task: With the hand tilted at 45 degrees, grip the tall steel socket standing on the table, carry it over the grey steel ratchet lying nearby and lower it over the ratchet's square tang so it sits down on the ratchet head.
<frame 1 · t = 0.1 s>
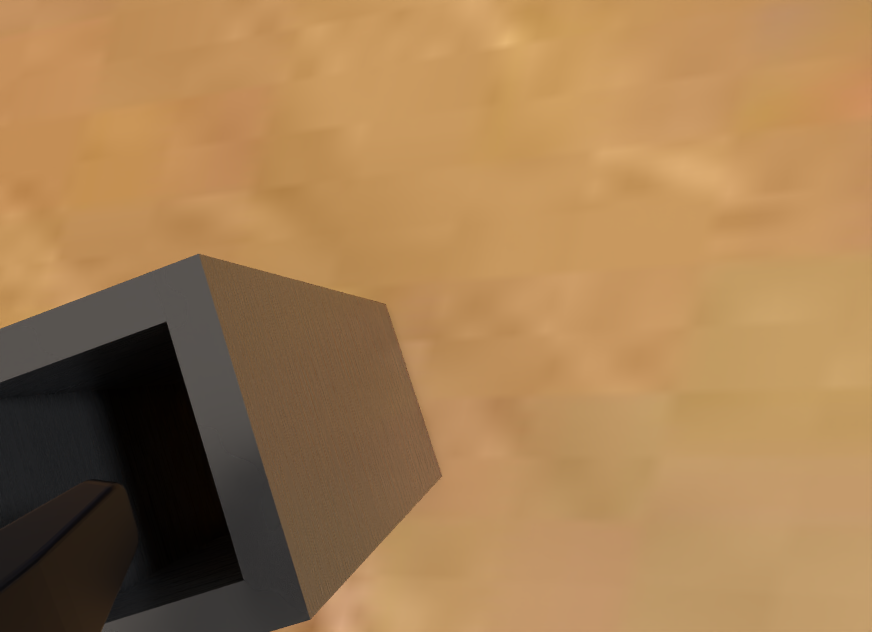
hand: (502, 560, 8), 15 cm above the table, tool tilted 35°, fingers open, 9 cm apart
socket: (330, 416, 24), on the table
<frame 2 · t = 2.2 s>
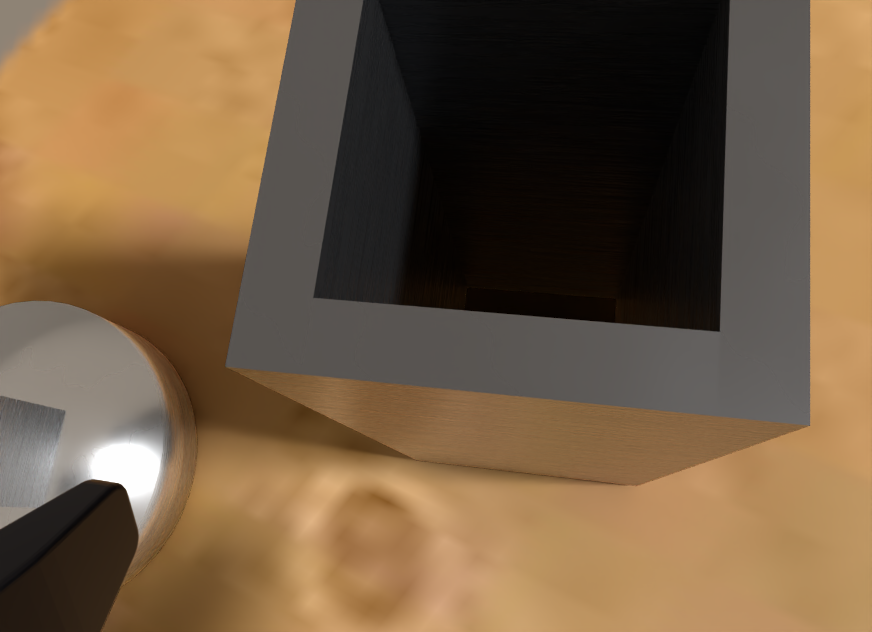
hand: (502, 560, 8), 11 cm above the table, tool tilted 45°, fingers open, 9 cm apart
socket: (534, 365, 20), on the table
ratchet: (59, 459, 21), on the table
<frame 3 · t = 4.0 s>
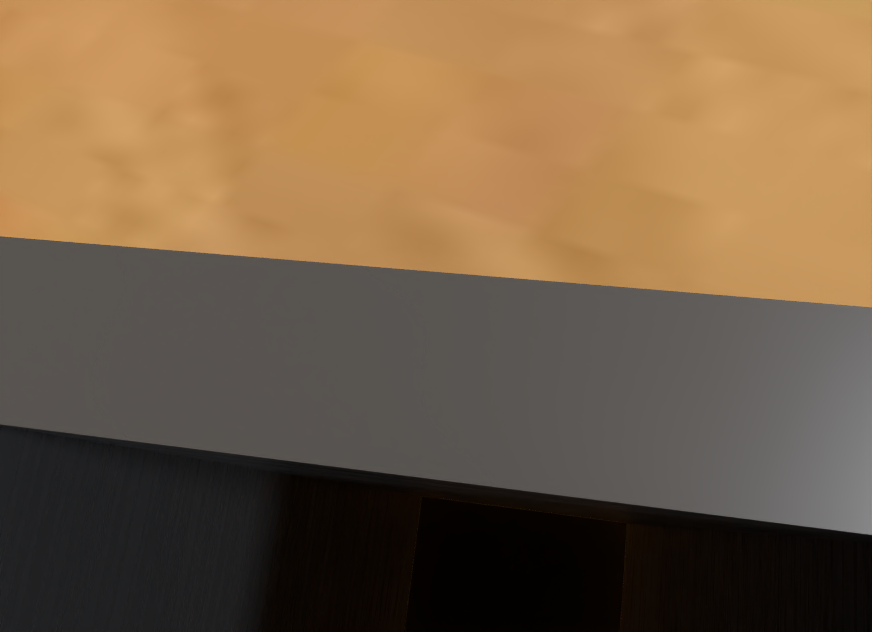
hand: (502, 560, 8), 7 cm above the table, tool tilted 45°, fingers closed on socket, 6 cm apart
socket: (511, 617, 14), on the table, touching gripper
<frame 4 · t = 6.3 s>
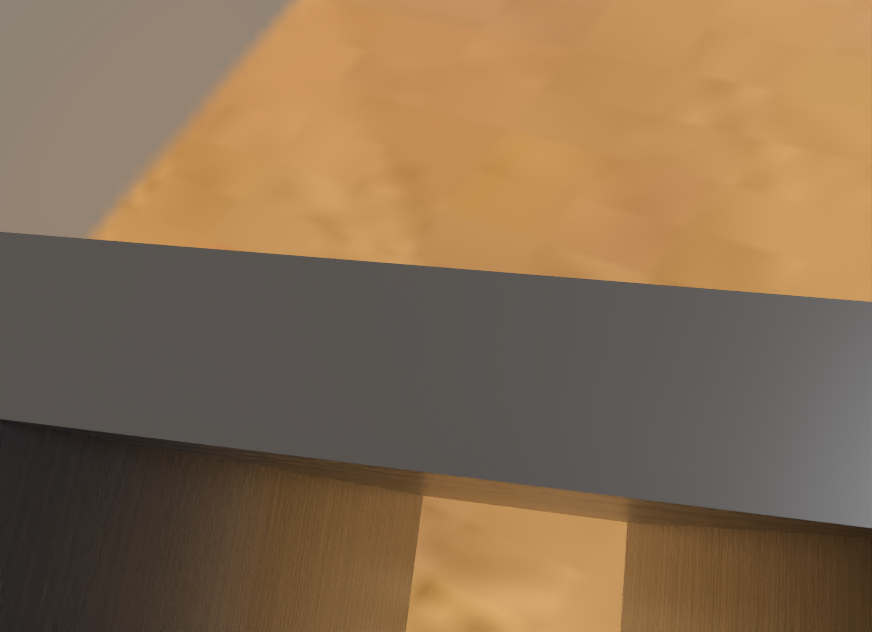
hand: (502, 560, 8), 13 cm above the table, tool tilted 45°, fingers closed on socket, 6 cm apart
socket: (512, 616, 14), point 7 cm above the table, touching gripper
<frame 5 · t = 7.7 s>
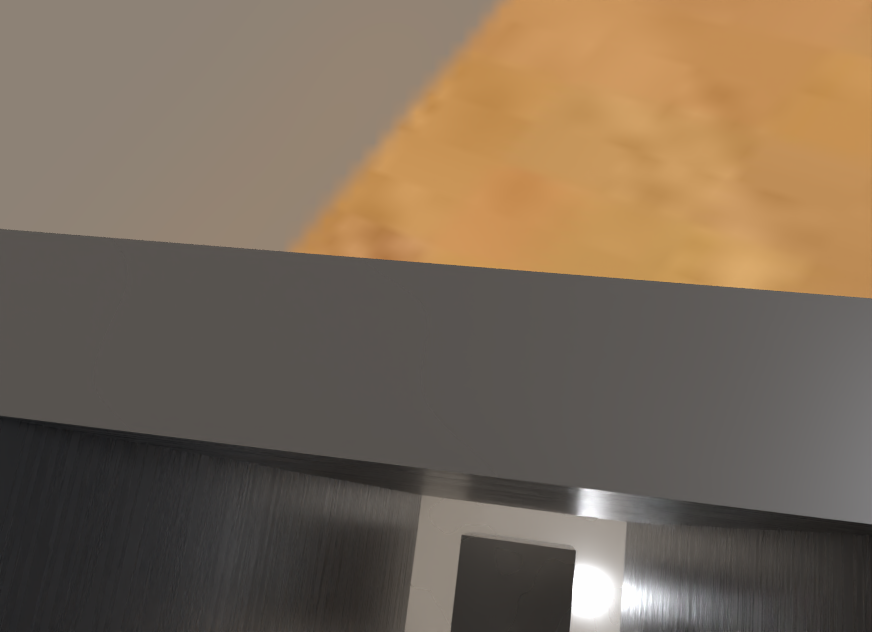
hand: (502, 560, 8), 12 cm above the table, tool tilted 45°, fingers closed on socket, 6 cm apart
socket: (511, 616, 14), point 6 cm above the table, touching gripper
ratchet: (518, 582, 20), on the table
when the fingers open (9 cm above the table, at t = 8.7 s): socket stays where it is, resting on ratchet.
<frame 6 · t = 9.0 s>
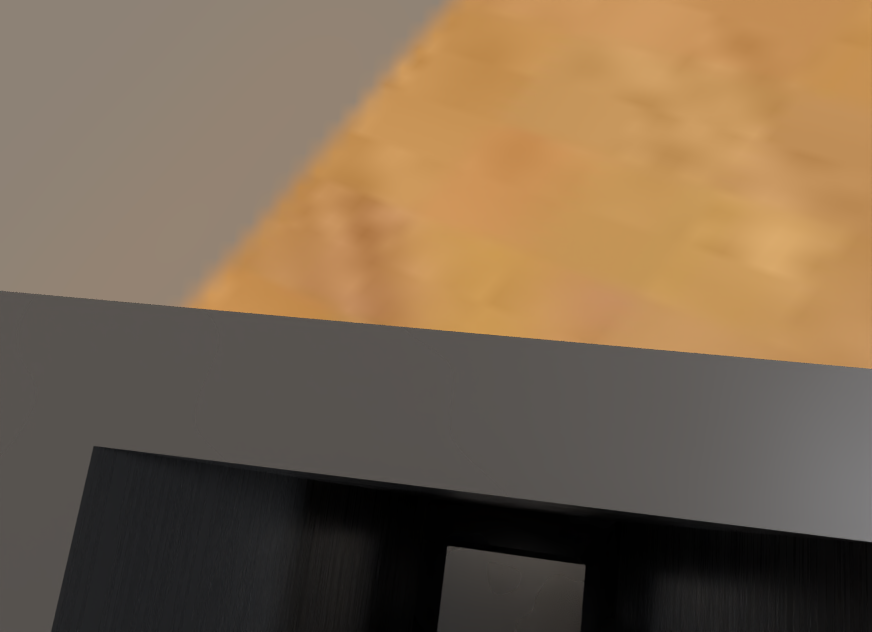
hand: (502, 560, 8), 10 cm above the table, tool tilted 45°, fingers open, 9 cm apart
socket: (513, 611, 15), point 2 cm above the table, touching ratchet
ratchet: (516, 600, 17), on the table
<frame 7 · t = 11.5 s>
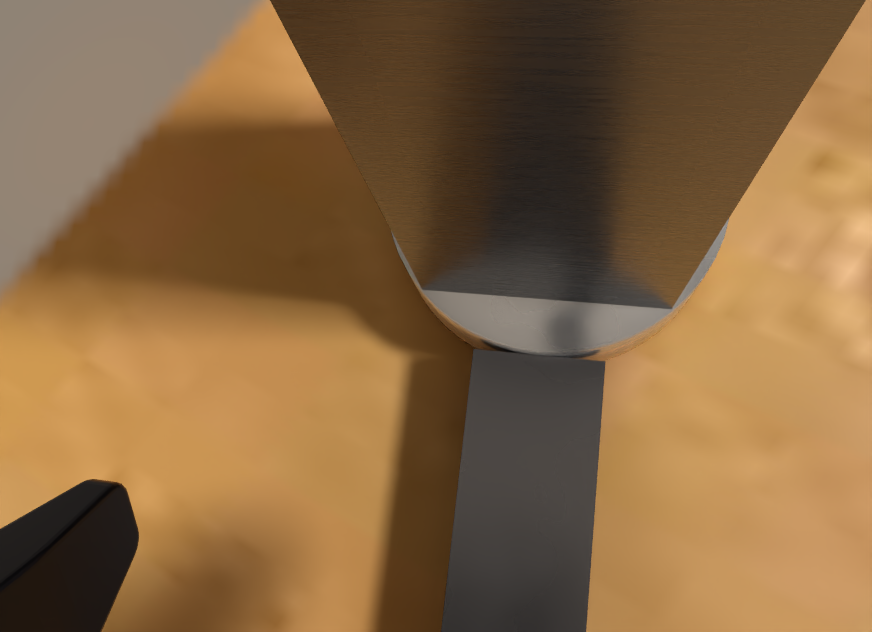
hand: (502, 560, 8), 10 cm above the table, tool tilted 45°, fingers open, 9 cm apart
socket: (553, 185, 18), point 2 cm above the table, touching ratchet
ratchet: (552, 217, 20), on the table
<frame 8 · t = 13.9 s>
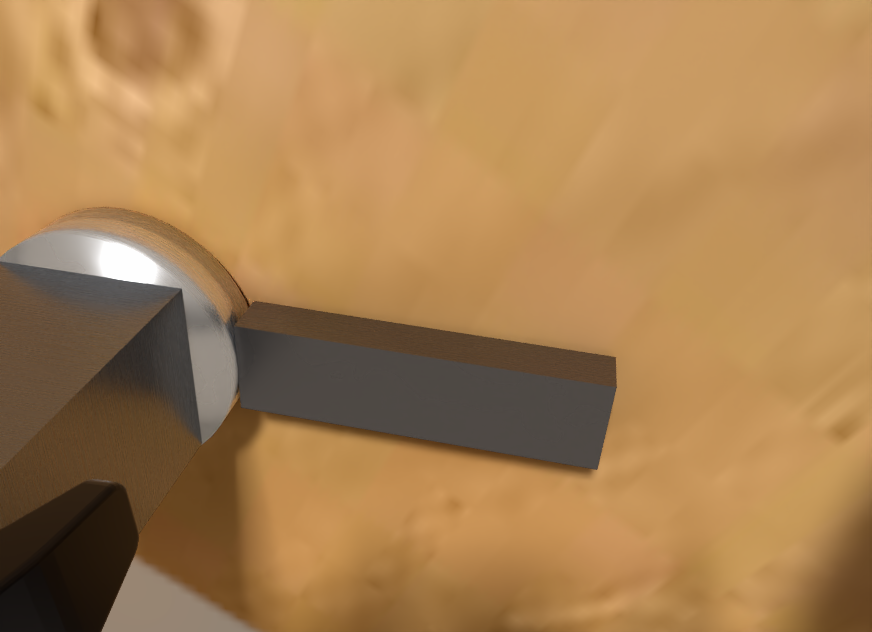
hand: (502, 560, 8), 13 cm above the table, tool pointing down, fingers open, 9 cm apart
socket: (105, 356, 23), point 2 cm above the table, touching ratchet
ratchet: (139, 322, 24), on the table
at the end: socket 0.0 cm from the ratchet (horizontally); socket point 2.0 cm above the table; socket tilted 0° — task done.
